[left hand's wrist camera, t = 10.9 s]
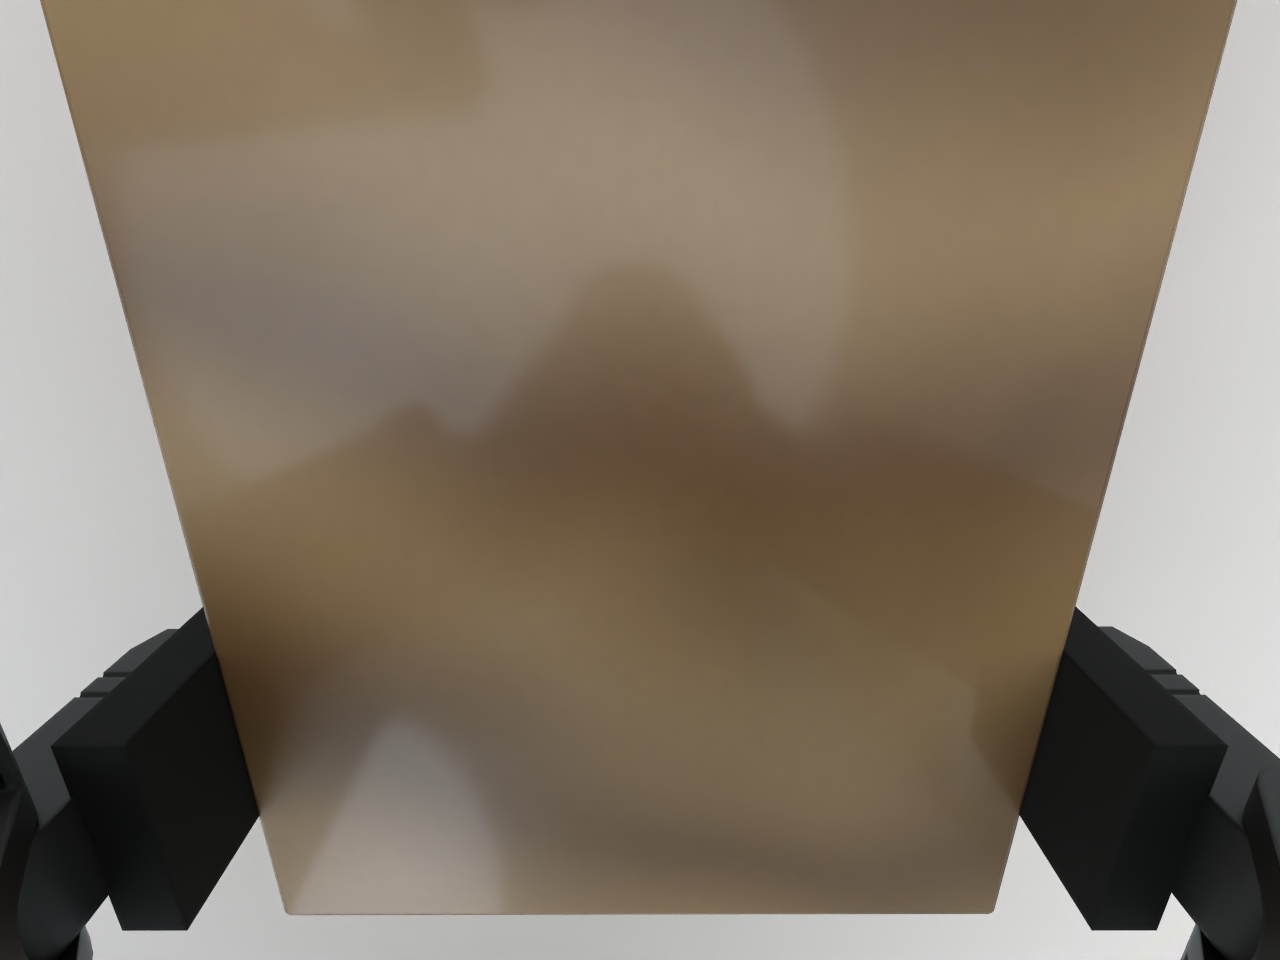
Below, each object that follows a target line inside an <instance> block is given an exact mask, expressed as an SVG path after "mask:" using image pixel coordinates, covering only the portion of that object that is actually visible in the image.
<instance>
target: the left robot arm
mask: <svg viewBox="0 0 1280 960" xmlns="http://www.w3.org/2000/svg"><path fill="white" fill-rule="evenodd" d="M1019 815H1020V816H1021V818H1022V820H1023V821H1024V823H1025V824H1026V826H1027V828H1028V829H1029V831H1030V832H1031V834H1032V836H1033V837H1034V839H1035V840H1036V842H1037V844H1038V845H1039V847H1040V848H1041V850H1042V852H1043V853H1044V855H1045V856H1046V858H1047V859H1048V861H1049V863H1050V864H1051V866H1052V867H1053V869H1054V871H1055V872H1056V874H1057V875H1058V877H1059V879H1060V880H1061V882H1062V883H1063V885H1064V887H1065V888H1066V890H1067V891H1068V893H1069V895H1070V896H1071V898H1072V899H1073V901H1074V903H1075V904H1076V906H1077V907H1078V909H1079V911H1080V912H1081V914H1082V915H1083V917H1084V918H1085V920H1086V922H1087V923H1088V925H1089V926H1090V928H1091V930H1157V928H1158V925H1159V923H1160V920H1161V918H1162V915H1163V913H1164V910H1165V908H1166V905H1167V902H1168V900H1169V897H1170V895H1171V892H1172V894H1173V895H1174V896H1175V897H1176V899H1177V900H1178V901H1179V902H1180V904H1181V905H1182V906H1183V908H1184V909H1185V910H1186V911H1187V913H1188V914H1189V915H1190V917H1191V918H1192V919H1193V920H1194V922H1195V923H1196V924H1195V927H1194V929H1193V932H1192V934H1191V936H1190V939H1189V941H1188V943H1187V946H1186V948H1185V951H1184V953H1183V955H1182V958H1181V960H1280V759H1279V758H1278V757H1277V756H1276V755H1275V754H1274V753H1272V752H1271V751H1270V750H1269V749H1268V748H1267V747H1265V746H1264V745H1263V744H1262V743H1261V742H1260V741H1258V740H1257V739H1256V738H1255V737H1254V736H1253V735H1251V734H1250V733H1249V732H1248V731H1247V730H1246V729H1244V728H1243V727H1242V726H1241V725H1240V724H1239V723H1237V722H1236V721H1235V720H1234V719H1233V718H1232V717H1230V716H1229V715H1228V714H1227V713H1226V712H1225V711H1223V710H1222V709H1221V708H1220V707H1219V706H1218V705H1216V704H1215V703H1214V702H1213V701H1212V700H1211V699H1209V698H1208V697H1207V696H1206V695H1200V693H1199V689H1198V688H1197V687H1195V686H1194V685H1193V684H1192V683H1191V682H1190V681H1188V680H1187V679H1186V678H1185V677H1184V676H1183V675H1177V673H1176V669H1174V668H1173V667H1172V666H1171V665H1170V664H1169V663H1167V662H1166V661H1165V660H1164V659H1163V658H1162V657H1160V656H1159V655H1158V654H1157V653H1156V652H1155V651H1153V650H1152V649H1151V648H1150V647H1149V646H1147V645H1145V644H1143V643H1141V642H1140V641H1138V640H1136V639H1134V638H1132V637H1130V636H1128V635H1127V634H1125V633H1123V632H1121V631H1119V630H1117V629H1116V628H1114V627H1097V626H1096V625H1095V624H1094V623H1093V622H1092V621H1091V620H1090V619H1089V618H1088V617H1086V616H1085V615H1084V614H1083V613H1082V612H1081V611H1080V610H1079V609H1078V608H1077V607H1075V609H1074V612H1073V616H1072V620H1071V624H1070V627H1069V631H1068V635H1067V639H1066V642H1065V646H1064V650H1063V654H1062V657H1061V661H1060V665H1059V669H1058V672H1057V676H1056V680H1055V684H1054V687H1053V691H1052V695H1051V698H1050V702H1049V706H1048V710H1047V713H1046V717H1045V721H1044V725H1043V728H1042V732H1041V736H1040V740H1039V743H1038V747H1037V751H1036V755H1035V758H1034V762H1033V766H1032V770H1031V773H1030V777H1029V781H1028V785H1027V788H1026V792H1025V796H1024V799H1023V803H1022V807H1021V811H1020V814H1019ZM258 817H259V813H258V809H257V805H256V801H255V798H254V794H253V790H252V786H251V783H250V779H249V775H248V772H247V768H246V764H245V760H244V757H243V753H242V749H241V746H240V742H239V738H238V734H237V731H236V727H235V723H234V720H233V716H232V712H231V708H230V705H229V701H228V697H227V693H226V690H225V686H224V682H223V679H222V675H221V671H220V667H219V664H218V660H217V656H216V653H215V649H214V645H213V641H212V638H211V634H210V630H209V627H208V623H207V619H206V615H205V612H204V608H201V609H200V610H199V611H198V612H197V613H196V614H195V615H194V616H193V617H192V618H191V619H189V620H188V621H187V622H186V623H185V624H184V625H183V626H182V627H181V628H180V629H167V630H165V631H163V632H161V633H159V634H158V635H156V636H154V637H152V638H150V639H148V640H147V641H145V642H143V643H141V644H139V645H137V646H136V647H134V648H132V649H130V650H129V651H128V652H127V653H126V654H125V655H123V656H122V657H121V658H120V659H119V660H118V661H116V662H115V663H114V664H113V665H112V666H111V667H110V668H108V669H107V670H106V671H105V672H104V675H103V677H98V678H97V679H96V680H94V681H93V682H92V683H91V684H90V685H89V686H88V687H86V688H85V689H84V690H83V691H82V692H81V695H80V697H79V698H74V699H72V700H71V701H70V702H69V703H68V704H67V705H66V706H64V707H63V708H62V709H61V710H60V711H59V712H57V713H56V714H55V715H54V716H53V717H52V718H50V719H49V720H48V721H47V722H46V723H45V724H44V725H42V726H41V727H40V728H39V729H38V730H37V731H35V732H34V733H33V734H32V735H31V736H30V737H28V738H27V739H26V740H25V741H24V742H23V743H22V744H20V745H19V746H18V747H17V748H16V749H15V750H13V751H12V750H11V748H10V745H9V743H8V740H7V738H6V736H5V733H4V731H3V728H2V726H1V724H0V960H92V957H93V950H92V945H91V940H90V936H89V934H88V932H87V929H86V927H85V925H86V923H87V922H88V921H89V920H90V918H91V917H92V916H93V914H94V913H95V912H96V910H97V909H98V908H99V907H100V905H101V904H102V903H103V901H104V900H105V899H106V898H107V896H108V895H109V897H110V900H111V903H112V905H113V908H114V910H115V913H116V915H117V918H118V920H119V923H120V925H121V928H122V931H132V930H188V928H189V927H190V925H191V924H192V922H193V920H194V919H195V917H196V916H197V914H198V912H199V911H200V909H201V908H202V906H203V904H204V903H205V901H206V900H207V898H208V896H209V895H210V893H211V892H212V890H213V889H214V887H215V885H216V884H217V882H218V881H219V879H220V877H221V876H222V874H223V873H224V871H225V869H226V868H227V866H228V865H229V863H230V861H231V860H232V858H233V857H234V855H235V853H236V852H237V850H238V849H239V847H240V845H241V844H242V842H243V841H244V839H245V837H246V836H247V834H248V833H249V831H250V830H251V828H252V826H253V825H254V823H255V822H256V820H257V818H258Z"/></svg>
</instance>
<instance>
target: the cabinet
mask: <svg viewBox="0 0 1280 960" xmlns="http://www.w3.org/2000/svg"><path fill="white" fill-rule="evenodd" d="M40 2H41V5H42V9H43V13H44V16H45V20H46V24H47V28H48V31H49V35H50V39H51V42H52V46H53V50H54V54H55V57H56V61H57V65H58V68H59V72H60V76H61V80H62V83H63V87H64V91H65V95H66V98H67V102H68V106H69V109H70V113H71V117H72V121H73V124H74V128H75V132H76V135H77V139H78V143H79V147H80V150H81V154H82V158H83V161H84V165H85V169H86V173H87V176H88V180H89V184H90V188H91V191H92V195H93V199H94V202H95V206H96V210H97V214H98V217H99V221H100V225H101V228H102V232H103V236H104V240H105V243H106V247H107V251H108V254H109V258H110V262H111V266H112V269H113V273H114V277H115V281H116V284H117V288H118V292H119V295H120V299H121V303H122V307H123V310H124V314H125V318H126V321H127V325H128V329H129V333H130V336H131V340H132V344H133V347H134V351H135V355H136V359H137V362H138V366H139V370H140V374H141V377H142V381H143V385H144V388H145V392H146V396H147V400H148V403H149V407H150V411H151V414H152V418H153V422H154V426H155V429H156V433H157V437H158V440H159V444H160V448H161V452H162V455H163V459H164V463H165V467H166V470H167V474H168V478H169V481H170V485H171V489H172V493H173V496H174V500H175V504H176V507H177V511H178V515H179V519H180V522H181V526H182V530H183V534H184V537H185V541H186V545H187V548H188V552H189V556H190V560H191V563H192V567H193V571H194V574H195V578H196V582H197V586H198V589H199V593H200V597H201V600H202V604H203V608H204V612H205V615H206V619H207V623H208V627H209V630H210V634H211V638H212V641H213V645H214V649H215V653H216V656H217V660H218V664H219V667H220V671H221V675H222V679H223V682H224V686H225V690H226V693H227V697H228V701H229V705H230V708H231V712H232V716H233V720H234V723H235V727H236V731H237V734H238V738H239V742H240V746H241V749H242V753H243V757H244V760H245V764H246V768H247V772H248V775H249V779H250V783H251V786H252V790H253V794H254V798H255V801H256V805H257V809H258V813H259V816H260V820H261V824H262V827H263V831H264V835H265V839H266V842H267V846H268V850H269V853H270V857H271V861H272V865H273V868H274V872H275V876H276V879H277V883H278V887H279V891H280V894H281V898H282V902H283V906H284V909H285V912H286V913H287V914H289V915H589V914H989V913H992V912H993V911H994V908H995V904H996V900H997V897H998V893H999V889H1000V885H1001V882H1002V878H1003V874H1004V871H1005V867H1006V863H1007V859H1008V856H1009V852H1010V848H1011V844H1012V841H1013V837H1014V833H1015V829H1016V826H1017V822H1018V818H1019V814H1020V811H1021V807H1022V803H1023V799H1024V796H1025V792H1026V788H1027V785H1028V781H1029V777H1030V773H1031V770H1032V766H1033V762H1034V758H1035V755H1036V751H1037V747H1038V743H1039V740H1040V736H1041V732H1042V728H1043V725H1044V721H1045V717H1046V713H1047V710H1048V706H1049V702H1050V698H1051V695H1052V691H1053V687H1054V684H1055V680H1056V676H1057V672H1058V669H1059V665H1060V661H1061V657H1062V654H1063V650H1064V646H1065V642H1066V639H1067V635H1068V631H1069V627H1070V624H1071V620H1072V616H1073V612H1074V609H1075V605H1076V601H1077V597H1078V594H1079V590H1080V586H1081V583H1082V579H1083V575H1084V571H1085V568H1086V564H1087V560H1088V556H1089V553H1090V549H1091V545H1092V541H1093V538H1094V534H1095V530H1096V526H1097V523H1098V519H1099V515H1100V511H1101V508H1102V504H1103V500H1104V496H1105V493H1106V489H1107V485H1108V482H1109V478H1110V474H1111V470H1112V467H1113V463H1114V459H1115V455H1116V452H1117V448H1118V444H1119V440H1120V437H1121V433H1122V429H1123V425H1124V422H1125V418H1126V414H1127V410H1128V407H1129V403H1130V399H1131V395H1132V392H1133V388H1134V384H1135V381H1136V377H1137V373H1138V369H1139V366H1140V362H1141V358H1142V354H1143V351H1144V347H1145V343H1146V339H1147V336H1148V332H1149V328H1150V324H1151V321H1152V317H1153V313H1154V309H1155V306H1156V302H1157V298H1158V294H1159V291H1160V287H1161V283H1162V280H1163V276H1164V272H1165V268H1166V265H1167V261H1168V257H1169V253H1170V250H1171V246H1172V242H1173V238H1174V235H1175V231H1176V227H1177V223H1178V220H1179V216H1180V212H1181V208H1182V205H1183V201H1184V197H1185V193H1186V190H1187V186H1188V182H1189V179H1190V175H1191V171H1192V167H1193V164H1194V160H1195V156H1196V152H1197V149H1198V145H1199V141H1200V137H1201V134H1202V130H1203V126H1204V122H1205V119H1206V115H1207V111H1208V107H1209V104H1210V100H1211V96H1212V92H1213V89H1214V85H1215V81H1216V78H1217V74H1218V70H1219V66H1220V63H1221V59H1222V55H1223V51H1224V48H1225V44H1226V40H1227V36H1228V33H1229V29H1230V25H1231V21H1232V18H1233V14H1234V10H1235V6H1236V3H1237V0H40Z"/></svg>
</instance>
